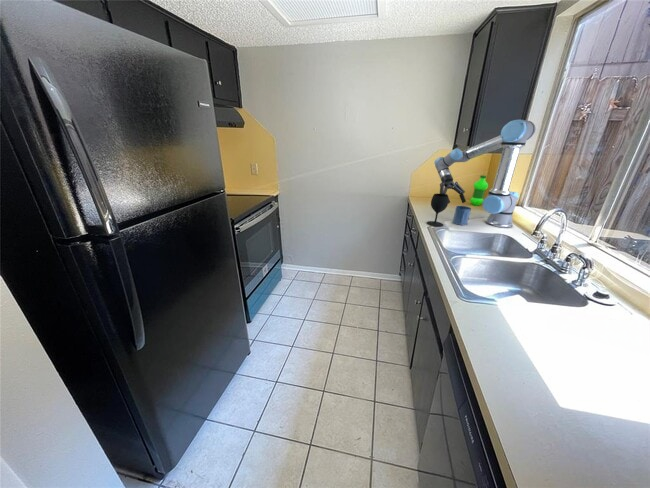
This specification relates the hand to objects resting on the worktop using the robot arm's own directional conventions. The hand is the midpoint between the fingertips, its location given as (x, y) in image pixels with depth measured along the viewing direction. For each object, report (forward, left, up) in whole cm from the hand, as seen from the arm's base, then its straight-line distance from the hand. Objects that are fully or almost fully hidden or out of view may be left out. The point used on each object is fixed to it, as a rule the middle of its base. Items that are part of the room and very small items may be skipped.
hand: (456, 202), depth 179 cm
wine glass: (+12, +16, -13) cm, 24 cm away
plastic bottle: (-20, -57, -13) cm, 62 cm away
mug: (-4, +7, -13) cm, 15 cm away
